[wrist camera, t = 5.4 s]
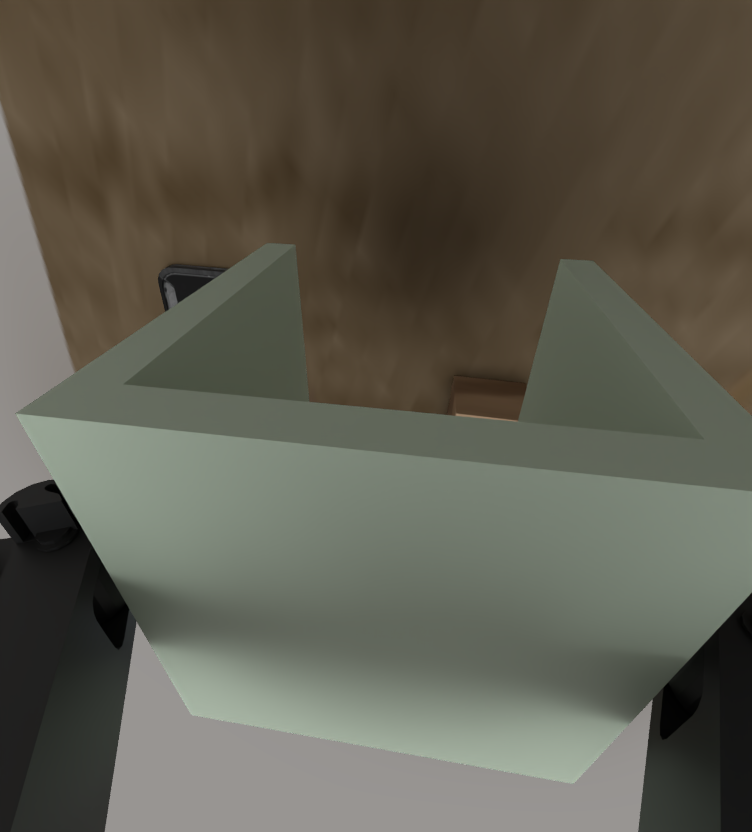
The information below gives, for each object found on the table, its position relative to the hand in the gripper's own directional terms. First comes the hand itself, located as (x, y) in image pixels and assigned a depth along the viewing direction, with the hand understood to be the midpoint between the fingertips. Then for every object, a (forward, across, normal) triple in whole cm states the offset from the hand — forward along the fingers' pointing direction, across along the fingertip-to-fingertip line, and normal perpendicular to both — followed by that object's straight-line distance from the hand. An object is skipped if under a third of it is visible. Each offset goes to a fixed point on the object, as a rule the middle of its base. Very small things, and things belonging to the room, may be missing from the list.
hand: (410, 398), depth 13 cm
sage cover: (+1, 0, 0) cm, 1 cm away
